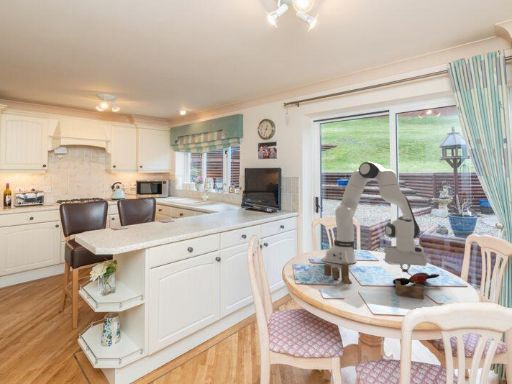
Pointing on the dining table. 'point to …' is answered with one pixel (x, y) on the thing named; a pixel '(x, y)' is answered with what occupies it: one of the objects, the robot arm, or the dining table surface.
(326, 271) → the wooden block set
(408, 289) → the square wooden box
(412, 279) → the toy motorcycle
